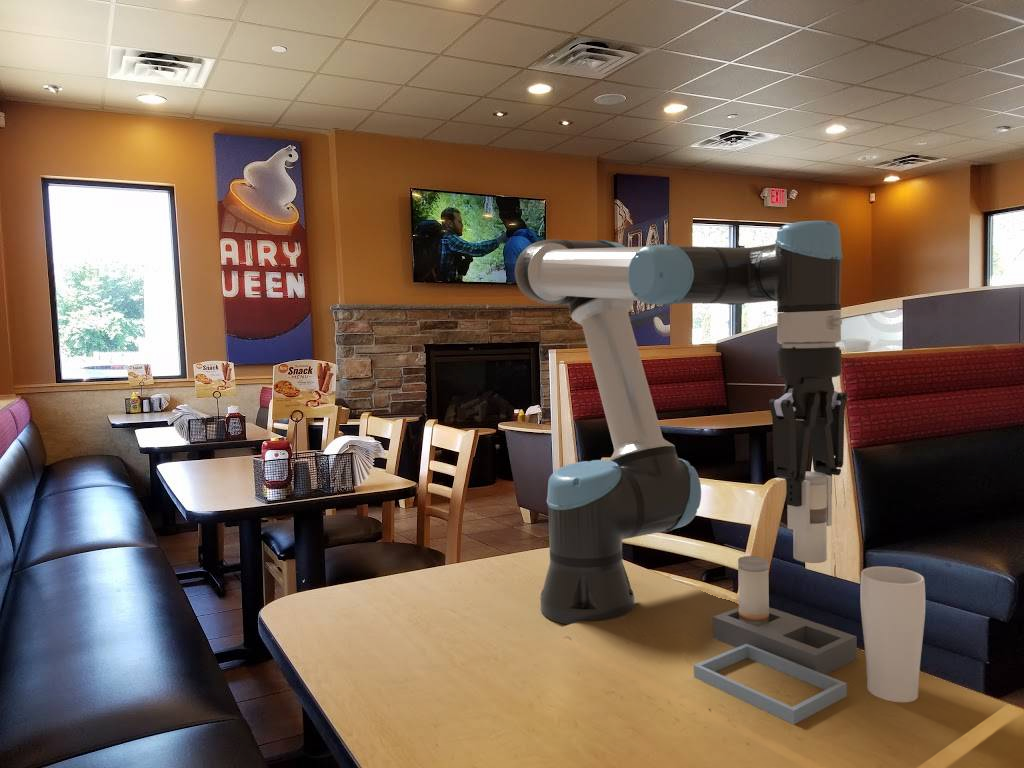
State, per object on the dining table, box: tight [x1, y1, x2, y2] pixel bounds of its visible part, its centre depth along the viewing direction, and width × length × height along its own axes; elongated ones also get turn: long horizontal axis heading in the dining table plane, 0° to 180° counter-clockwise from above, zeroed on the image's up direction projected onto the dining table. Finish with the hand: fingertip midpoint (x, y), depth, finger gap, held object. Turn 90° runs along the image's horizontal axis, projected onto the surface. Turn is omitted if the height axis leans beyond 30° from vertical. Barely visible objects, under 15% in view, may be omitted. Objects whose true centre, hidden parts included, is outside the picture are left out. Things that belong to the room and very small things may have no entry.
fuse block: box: [712, 606, 858, 675], centre depth 99 cm, size 16×9×4 cm, turn 34°
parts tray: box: [693, 644, 848, 725], centre depth 89 cm, size 14×10×2 cm
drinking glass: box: [859, 565, 926, 703], centre depth 86 cm, size 7×7×15 cm
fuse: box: [737, 555, 770, 627], centre depth 102 cm, size 4×4×11 cm
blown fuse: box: [792, 470, 828, 564], centre depth 94 cm, size 4×4×11 cm
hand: (809, 526), depth 94 cm, fingers closed on blown fuse, 4 cm apart
